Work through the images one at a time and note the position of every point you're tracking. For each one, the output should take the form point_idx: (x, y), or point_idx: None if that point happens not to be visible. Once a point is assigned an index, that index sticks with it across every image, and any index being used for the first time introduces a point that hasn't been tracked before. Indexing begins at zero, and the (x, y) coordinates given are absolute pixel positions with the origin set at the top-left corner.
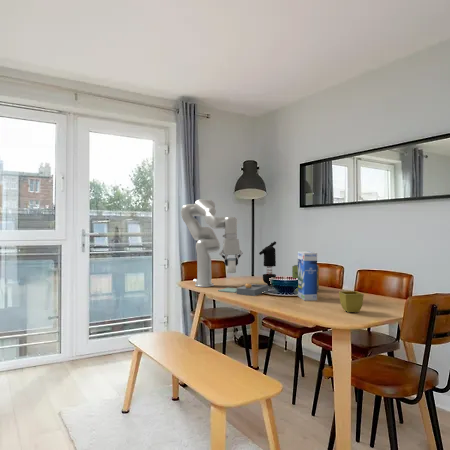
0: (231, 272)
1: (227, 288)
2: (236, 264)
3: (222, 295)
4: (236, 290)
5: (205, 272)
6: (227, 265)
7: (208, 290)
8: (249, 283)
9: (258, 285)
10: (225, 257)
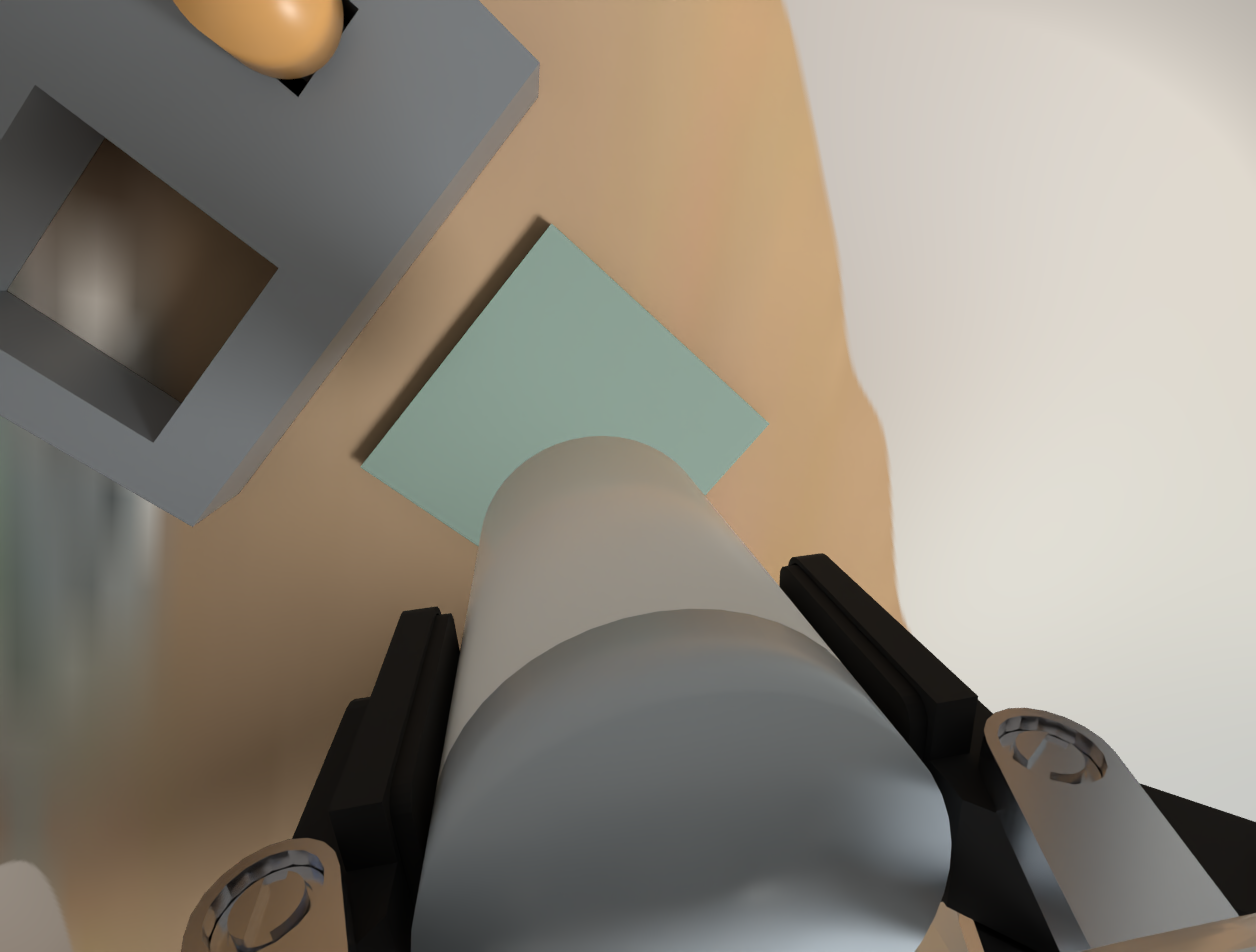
0: (619, 438)
1: None
2: (432, 629)
3: (779, 27)
4: (503, 357)
5: (953, 929)
6: (787, 567)
7: (866, 505)
8: (210, 35)
9: (43, 369)
10: (1126, 795)
